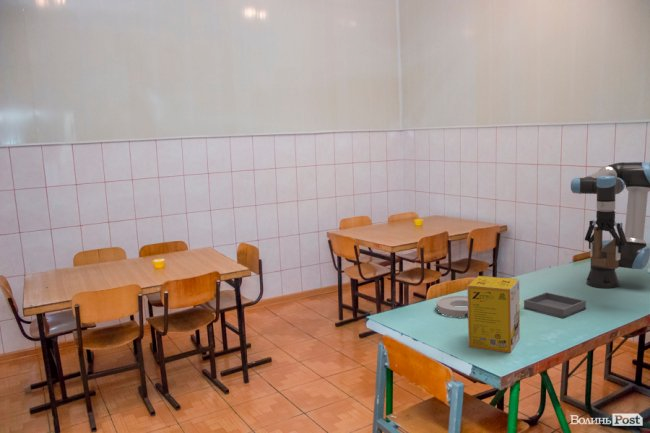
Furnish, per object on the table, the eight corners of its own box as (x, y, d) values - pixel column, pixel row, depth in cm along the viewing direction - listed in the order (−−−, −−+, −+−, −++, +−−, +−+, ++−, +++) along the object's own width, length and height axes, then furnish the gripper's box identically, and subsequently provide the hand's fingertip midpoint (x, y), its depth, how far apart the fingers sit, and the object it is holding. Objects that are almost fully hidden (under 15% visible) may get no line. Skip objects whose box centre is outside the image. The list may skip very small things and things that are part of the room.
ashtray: (472, 322, 247) (471, 313, 246) (427, 313, 262) (427, 305, 262) (495, 308, 263) (495, 300, 263) (452, 300, 279) (451, 293, 278)
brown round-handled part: (614, 269, 246) (614, 229, 243) (591, 265, 254) (591, 227, 252) (618, 267, 248) (619, 228, 245) (595, 264, 256) (596, 226, 254)
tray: (546, 300, 270) (546, 292, 269) (585, 309, 254) (585, 300, 253) (524, 308, 260) (524, 300, 259) (563, 318, 244) (563, 309, 243)
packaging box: (479, 333, 232) (478, 275, 229) (519, 338, 224) (519, 278, 220) (468, 346, 218) (467, 285, 215) (510, 353, 210) (510, 289, 206)
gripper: (576, 209, 254) (576, 255, 258) (628, 213, 236) (627, 263, 239) (585, 207, 259) (585, 253, 262) (636, 211, 240) (635, 260, 243)
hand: (605, 258), depth 250 cm, fingers closed on brown round-handled part, 11 cm apart
